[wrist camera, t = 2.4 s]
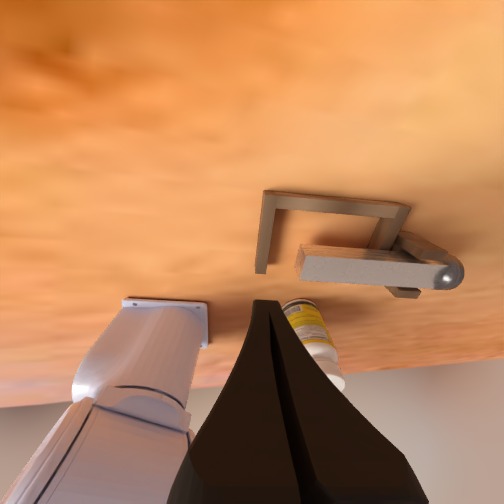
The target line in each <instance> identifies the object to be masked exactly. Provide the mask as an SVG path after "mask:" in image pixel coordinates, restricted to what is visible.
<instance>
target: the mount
mask: <svg viewBox="0 0 504 504" xmlns="http://www.w3.org/2000/svg"><path fill="white" fill-rule="evenodd" d="M276 208H277V209H289V210H301V211H312V212H324V213H336V214H347V215H359V216H370V217H380V219H379V221H378V224H377V226H376V228H375V230H374V233H373V235H372V237H371V240H370V242H369V244H368V247H367V249H374V250H387V251H401V252H409V253H410V254H412V255H413V256H415V257H416V258H418V259H423V260H437V261H443V259H444V258H445V256H446V255H447V253H448V252H447V251H445V250H443V249H441V248H440V247H438V246H436V245H434V244H432V243H430V242H428V241H426V240H424V239H422V238H421V237H419V236H417V235H415V234H413V233H411V232H405V231H400V229H401V227H402V225H403V223H404V221H405V219H406V217H407V215H408V213H409V211H410V209H411V207H408V206H405V205H403V204H400V203H396V202H385V201H374V200H363V199H352V198H341V197H330V196H319V195H308V194H297V193H286V192H275V191H263V199H262V208H261V216H260V225H259V233H258V242H257V251H256V259H255V274H266V268H267V262H268V255H269V249H270V242H271V236H272V229H273V223H274V216H275V210H276ZM385 287H386V288H387V289H388V290H389V291H390V292H391V293H392V294H393V295H394V296H395V297H397V298H414V299H417V298H418V296H419V295H420V293H421V291H420V290H419V289H418V288H412V287H396V286H385Z"/></svg>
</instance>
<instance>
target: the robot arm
mask: <svg viewBox="0 0 504 504" xmlns="http://www.w3.org/2000/svg"><path fill="white" fill-rule="evenodd" d="M121 304H122V307H123V308H122V309H121V310H120V311H119V313H118V314H117V315H116V317H115V318H114V319H113V320H112V322H111V323H110V324H109V325H108V327H107V328H106V329H105V331H104V332H103V333H102V334H101V336H100V337H99V338H98V340H97V341H96V342H95V343H94V345H93V346H92V347H91V348H90V350H89V351H88V352H87V354H86V355H85V357H84V358H83V360H82V362H81V364H80V366H79V368H78V370H77V372H76V375H75V378H74V381H73V385H72V399H73V402H74V403H73V404H72V405H70V406H69V408H68V409H67V410H66V411H65V412H64V414H63V415H62V416H61V417H60V419H59V420H58V422H57V423H56V424H55V426H54V427H53V428H52V430H51V431H50V432H49V434H48V435H47V436H46V438H45V439H44V440H43V442H42V443H41V445H40V446H39V447H38V449H37V450H36V452H35V453H34V454H33V456H32V457H31V459H30V460H29V461H28V463H27V464H26V466H25V467H24V469H23V470H22V471H21V473H20V474H19V476H18V477H17V479H16V480H15V481H14V483H13V484H12V486H11V487H10V489H9V490H8V492H7V493H6V495H5V496H4V498H3V499H2V501H1V502H0V504H429V501H428V499H427V497H426V495H425V493H424V491H423V489H422V487H421V485H420V483H419V481H418V479H417V477H416V475H415V474H414V471H413V470H412V468H411V466H410V465H409V463H408V461H407V459H406V458H405V456H404V454H403V453H402V452H400V451H399V450H398V449H397V448H396V447H395V446H394V445H393V444H392V443H391V442H390V441H389V440H388V439H386V438H385V437H384V436H383V435H382V434H381V433H380V432H379V431H378V430H377V429H376V428H375V427H374V426H373V425H372V424H371V423H370V422H369V421H368V420H367V419H366V418H365V417H364V416H363V415H362V414H361V413H360V412H359V411H358V410H357V409H356V408H355V407H354V406H353V405H352V404H351V403H350V402H349V400H348V399H347V398H346V397H345V396H344V395H343V394H342V393H341V392H340V390H339V389H338V388H337V387H336V386H335V385H334V384H333V383H332V381H331V380H330V379H329V378H328V377H327V375H326V374H325V373H324V372H323V371H322V369H321V368H320V367H319V365H318V364H317V363H316V362H315V360H314V359H313V358H312V356H311V355H310V353H309V352H308V351H307V349H306V348H305V346H304V345H303V343H302V342H301V340H300V339H299V337H298V336H297V334H296V332H295V331H294V329H293V328H292V326H291V324H290V323H289V321H288V319H287V317H286V315H285V313H284V312H283V310H282V308H281V306H280V303H279V302H278V301H272V300H254V301H253V308H252V316H251V322H250V326H249V329H248V332H247V335H246V338H245V341H244V344H243V346H242V349H241V351H240V354H239V356H238V358H237V361H236V363H235V365H234V367H233V370H232V372H231V374H230V376H229V378H228V380H227V382H226V384H225V386H224V388H223V390H222V391H221V393H220V395H219V397H218V399H217V401H216V403H215V404H214V406H213V408H212V410H211V411H210V413H209V415H208V417H207V418H206V420H205V422H204V423H203V425H202V426H201V428H200V430H199V431H198V433H197V435H196V436H195V434H194V432H193V431H192V430H191V429H189V423H190V419H191V414H190V413H188V412H186V411H185V408H186V404H187V399H188V395H189V391H190V387H191V383H192V379H193V375H194V371H195V366H196V362H197V358H198V354H199V350H200V348H207V347H208V314H207V304H206V303H203V302H184V301H166V300H148V299H130V298H125V299H123V300H122V302H121ZM198 306H199V307H198Z"/></svg>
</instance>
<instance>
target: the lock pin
mask: <svg viewBox="0 0 504 504" xmlns="http://www.w3.org/2000/svg"><path fill="white" fill-rule="evenodd" d="M295 270H296V272H297V275H298V278H299V280H302V281H318V282H334V283H349V284H365V285H380V286H396V287H412V288H427V289H436V290H451V289H454V288H456V287H457V286H458V285H459V284H460V283H461V282H462V280H463V278H464V268H463V265H462V263H461V262H460V261H459V260H458V259H457V258H456V257H454V256H452V255H449V254H447V255H446V256H445V258H444V259H443V261H437V260H423V259H418V258H416V257H415V256H413V255H412V254H410V253H409V252H401V251H387V250H374V249H361V248H348V247H334V246H321V245H308V244H300V246H299V250H298V254H297V259H296V263H295Z"/></svg>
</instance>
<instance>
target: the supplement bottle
mask: <svg viewBox="0 0 504 504" xmlns="http://www.w3.org/2000/svg"><path fill="white" fill-rule="evenodd" d="M282 310H283V312H284V313H285V315H286V317H287V319H288V321H289V323H290V324H291V326H292V328H293V329H294V331H295V332H296V334H297V336H298V337H299V339H300V340H301V342H302V343H303V345H304V346H305V348H306V349H307V351H308V352H309V353H310V355H311V356H312V358H313V359H314V360H315V362H316V363H317V364H318V365H319V367H320V368H321V369H322V371H323V372H324V373H325V374H326V375H327V377H328V378H329V379H330V380H331V381H332V383H333V384H334V385H335V386H336V387H337V388H338V389H339V390H340V392H341V391H342V390H343V389H344V388H345V380H344V378H343V375H342V372H341V369H340V367H339V366H338V364H337V363H338V354H337V351H336V348H335V346H334V344H333V342H332V340H331V337H330V335H329V333H328V330H327V328H326V326H325V324H324V321H323V319H322V317H321V314H320V312H319V310H318V308H317V306H316V305H315V304H314V303H313V302H311V301H309V300H306V299H296V300H292V301H290V302H288V303H286V304H285V305H284V306H283V307H282Z"/></svg>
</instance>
